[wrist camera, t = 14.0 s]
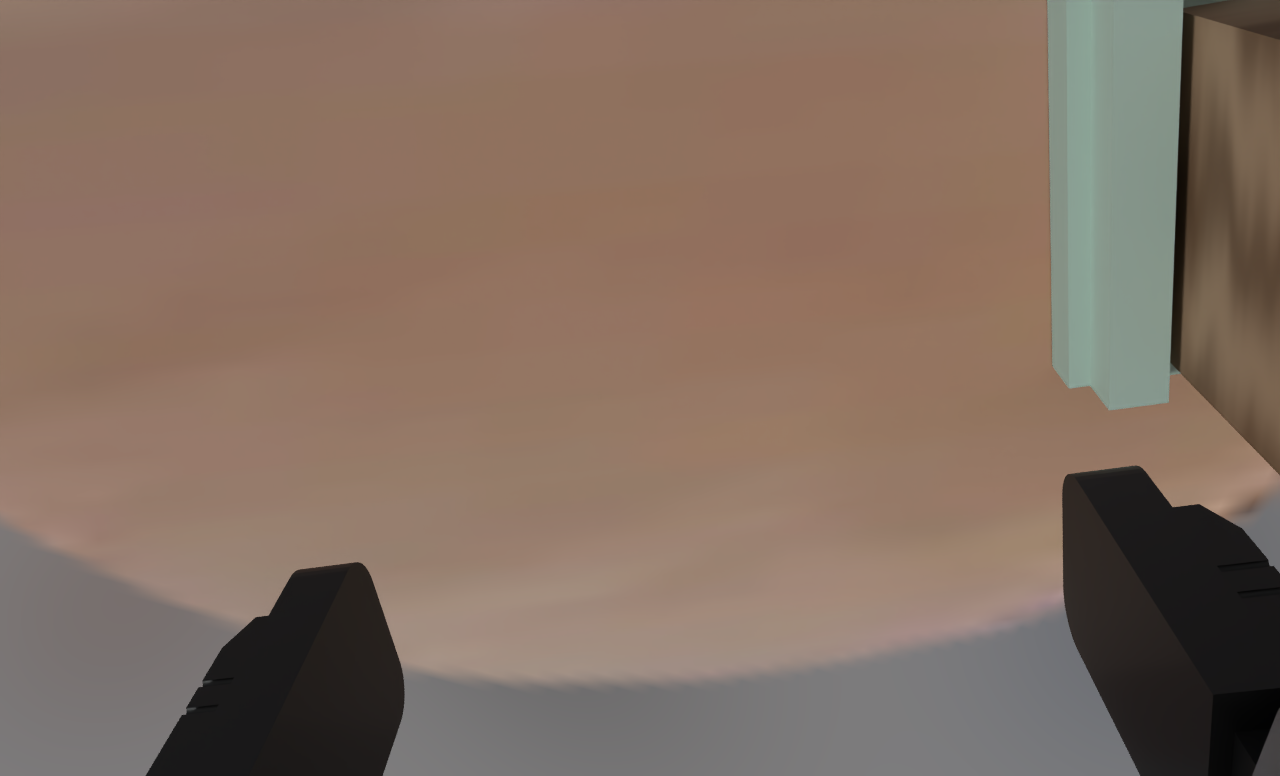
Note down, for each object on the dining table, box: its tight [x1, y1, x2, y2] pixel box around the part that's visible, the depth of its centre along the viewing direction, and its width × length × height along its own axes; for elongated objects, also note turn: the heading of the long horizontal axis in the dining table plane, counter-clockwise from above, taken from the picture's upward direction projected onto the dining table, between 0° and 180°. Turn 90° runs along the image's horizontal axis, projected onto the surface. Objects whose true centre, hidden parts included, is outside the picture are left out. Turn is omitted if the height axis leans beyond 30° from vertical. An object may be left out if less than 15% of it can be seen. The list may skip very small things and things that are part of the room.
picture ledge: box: [1047, 0, 1227, 410], centre depth 36 cm, size 14×10×4 cm
